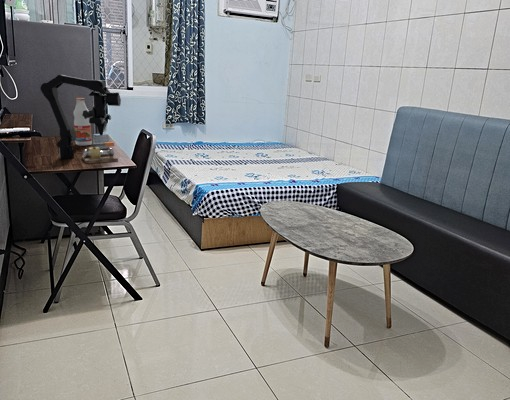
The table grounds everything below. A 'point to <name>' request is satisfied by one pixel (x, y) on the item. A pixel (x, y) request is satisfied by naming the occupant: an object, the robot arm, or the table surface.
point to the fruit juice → (82, 124)
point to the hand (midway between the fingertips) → (101, 135)
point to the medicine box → (101, 140)
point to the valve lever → (103, 144)
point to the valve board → (100, 159)
